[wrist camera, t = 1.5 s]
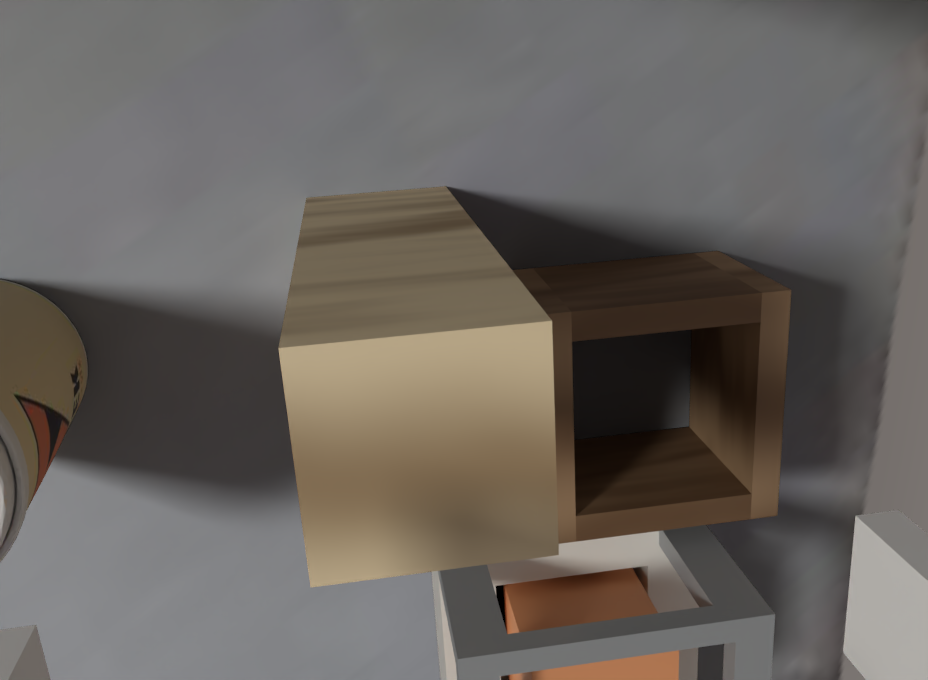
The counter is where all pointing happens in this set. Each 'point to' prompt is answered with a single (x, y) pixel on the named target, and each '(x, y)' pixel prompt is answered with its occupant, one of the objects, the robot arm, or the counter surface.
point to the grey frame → (671, 629)
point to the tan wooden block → (415, 392)
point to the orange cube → (586, 621)
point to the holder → (711, 393)
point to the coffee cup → (33, 396)
